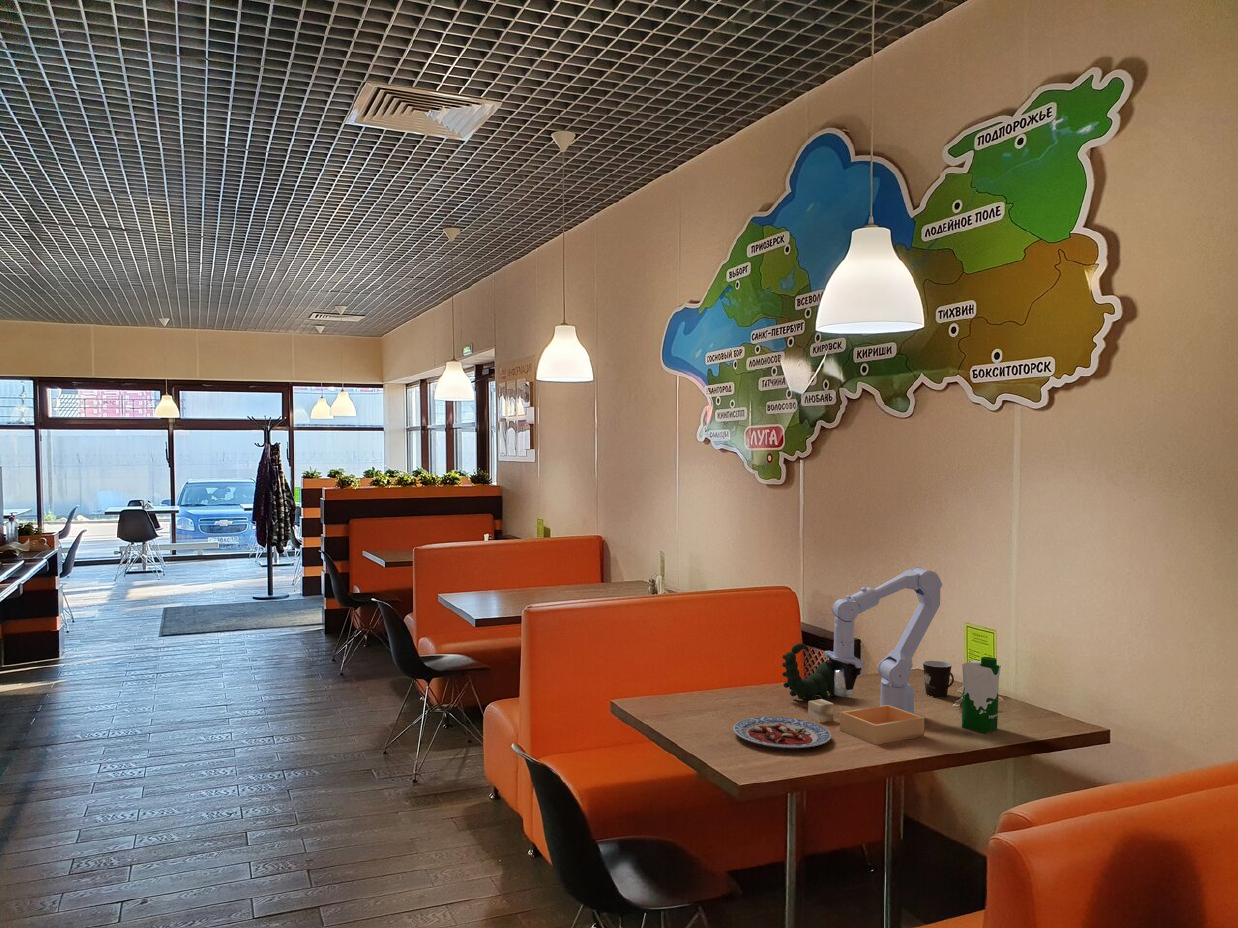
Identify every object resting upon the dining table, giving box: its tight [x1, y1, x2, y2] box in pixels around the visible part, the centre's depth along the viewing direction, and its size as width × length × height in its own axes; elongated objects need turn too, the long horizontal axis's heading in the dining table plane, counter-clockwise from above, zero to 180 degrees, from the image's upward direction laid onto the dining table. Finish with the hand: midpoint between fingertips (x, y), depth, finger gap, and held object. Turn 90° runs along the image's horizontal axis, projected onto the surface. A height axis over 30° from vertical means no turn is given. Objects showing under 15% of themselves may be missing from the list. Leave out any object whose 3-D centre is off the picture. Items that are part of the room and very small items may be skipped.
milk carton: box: [961, 656, 1001, 734], centre depth 254 cm, size 9×9×20 cm
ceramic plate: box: [732, 716, 832, 750], centre depth 242 cm, size 26×26×3 cm
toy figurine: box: [781, 642, 846, 701], centre depth 282 cm, size 9×19×25 cm
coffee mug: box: [922, 660, 955, 698], centre depth 287 cm, size 12×9×10 cm
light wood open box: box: [839, 705, 925, 746], centre depth 248 cm, size 18×14×5 cm
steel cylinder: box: [834, 668, 853, 697], centre depth 265 cm, size 5×5×7 cm
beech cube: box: [807, 698, 834, 724], centre depth 260 cm, size 5×5×5 cm
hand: (842, 687), depth 265 cm, fingers closed on steel cylinder, 5 cm apart
